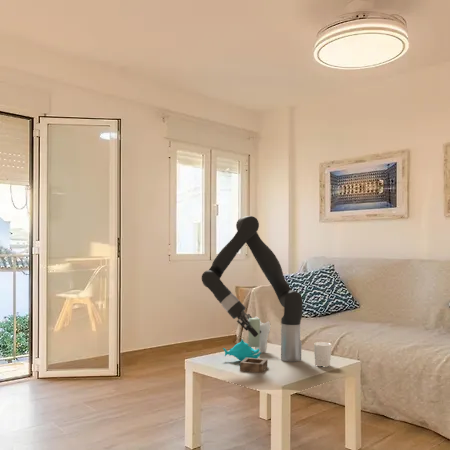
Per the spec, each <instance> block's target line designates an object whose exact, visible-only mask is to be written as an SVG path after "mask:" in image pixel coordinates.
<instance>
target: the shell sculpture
mask: <svg viewBox="0 0 450 450" xmlns="http://www.w3.org/2000/svg"><path fill="white" fill-rule="evenodd" d="M253 318H259V316H254V317H253ZM260 331H261V333H260V345H259V347H254V350H257V349H259V350H260V352H261V353H260V354H264V353H266V352H267V347H268V337H269V335H270V332H271V322H270V320H267V321H266V322H262V321H261V320H260Z"/></svg>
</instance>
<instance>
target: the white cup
mask: <svg viewBox="0 0 450 450" xmlns="http://www.w3.org/2000/svg"><path fill="white" fill-rule="evenodd" d="M313 346H314V347H313V351H314V354H313V355H314V365H315V366H316V365H317V366H316V367H318V366H329V367H331V361H332V360H331V359H332V358H331V357H332V343H330V342H326V341H316V342H314V343H313Z"/></svg>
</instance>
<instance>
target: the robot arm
mask: <svg viewBox="0 0 450 450" xmlns="http://www.w3.org/2000/svg"><path fill="white" fill-rule="evenodd" d="M235 227H236V230H237V231H236V232H235V234H234V236H233V237H232V238H231V239H230V241H228V242H227V244H226V245H225V246H224V247H223V248H222V249H221V250H220V251H219V252H218V254H217V255H216V256H215V258H214V259H213V261H212V264H211V266H210V267H209V269H208V270H205V271H203V273H202V275H201V282H202V284H203V286H204V287H206V288H207V289H208V290H210V292H211V293H212V294H213V296H214V298H215V299H216V300H217V301H218V302H219V303H220V304H221V306H222V308H223V309H224V310H225V311H226V312H227V313H228V315H229V316H230V317H231V318H232V319H233V320H234V319H236V318H237V320H236V321H237V323H238V324H239V325H240V326H241V327H242V328H243V330H245V331H248V332H249V331H250V333H251V334H252V335H253V336H254V337H256V336H257V335H258V333H257V331H256V330H255V329H254V328H253V327H252V325H251V324H250V321H249V318H253V317H252V316H251V314H249V313H247V312H245V310H246V306H245V305H244V304H243V303H242V302H241V301H240V300H239V298H238V297H236V296H235V294H233V292H232V291H231V290H230V289H229V288H228V287H227V286H226V285H225V284H224V282H223V281H222V280H221V278H222V276H223V274H224V272H225V271H226V270H227V268H228V267H229V265H231V263H232V261H234V259H235V257H236V255H238V253H239V252H240V250H241V249H242V248H243V247H244V245H245V244H246V245H247V247H248V248H249V250H250V252H251V254H252V255H253V257H254V259H255V261H256V263H257V265H258V266H259V268H260V270H261V271H262V273H263V274H264V275H265V278H266V280H267V281H268V282H269V284H270V286H271V287H272V288H273V291H274V293H275V294H276V297H277V300H278V302H279V304H280V305H281V306H282V307H283V308H284V310H283V316H282V317H281V320H280V321H281V322H280V323H281V324H280V325H281V327H280V332H281V333H280V335H281V337H280V359H281V361H284V362H301V361H302V345H303V344H302V342H303V341H302V340H301V320H302V318H303V305H304V304H303V303H304V302H303V297H302V295H301V294H300V293H299V292H298V291H296V290H293V289H292V288H291V286H289V284H288V282H287V281H286V279H285V276H284V273H283V269H282V268H283V267H282V266H281V264H280V261H279V260H278V258H277V256H276V255H275V253H274V252H273V250H272V249H271V248H270V247H269V246H268V245H267V244H266V243H265V242H264V241H263V240H262V239H261V237H260V235H259V233H258V231H259V227H260V221H259V220H258V219H257V218H256V217H255V216H252V215H246V216H243V217H240V218H239V219H238V220H237V222H236V225H235ZM260 333H261V331H260Z"/></svg>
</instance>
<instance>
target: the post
mask: <svg viewBox="0 0 450 450" xmlns="http://www.w3.org/2000/svg"><path fill="white" fill-rule="evenodd" d="M249 321H250V324H251V325H252V327H253V328H254V329H255V330H256V331H257V333H258V335H257V336H256V337H254V336H253V335H252V334H251V333H250V331H248V340H247V342H248V343H247V344H248V346H249V347H251V348H255V347H259V345H260V321H261V318H259V317H258V318H254V317H252V318H249Z"/></svg>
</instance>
